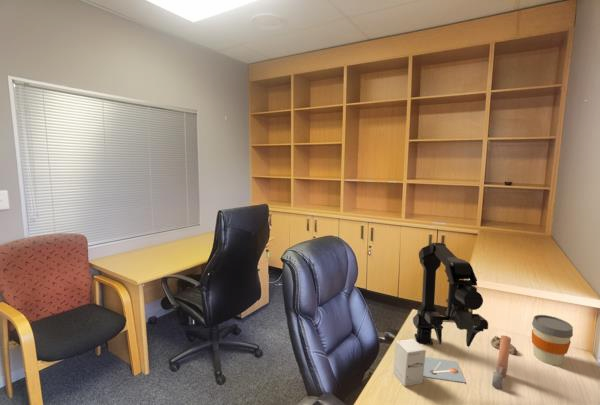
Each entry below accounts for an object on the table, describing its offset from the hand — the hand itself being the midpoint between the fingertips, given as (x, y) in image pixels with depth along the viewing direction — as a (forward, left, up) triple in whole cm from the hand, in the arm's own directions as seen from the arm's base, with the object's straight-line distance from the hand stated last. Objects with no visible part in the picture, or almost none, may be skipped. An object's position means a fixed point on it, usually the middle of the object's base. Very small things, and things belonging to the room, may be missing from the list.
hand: (453, 345), depth 109 cm
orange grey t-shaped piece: (-6, +18, -14) cm, 23 cm away
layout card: (-8, -1, -14) cm, 16 cm away
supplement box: (0, -14, -15) cm, 20 cm away
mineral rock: (-29, +28, -15) cm, 43 cm away
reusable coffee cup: (-25, +42, -15) cm, 51 cm away
